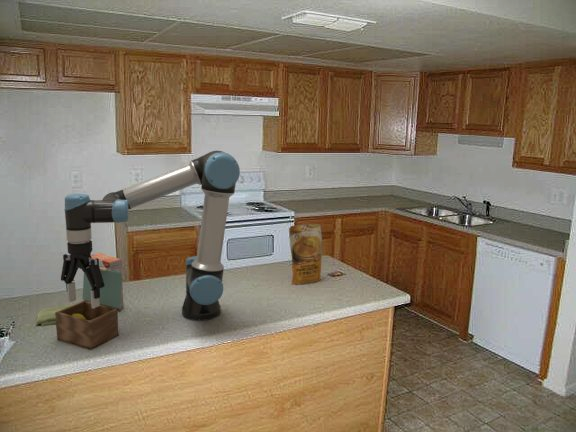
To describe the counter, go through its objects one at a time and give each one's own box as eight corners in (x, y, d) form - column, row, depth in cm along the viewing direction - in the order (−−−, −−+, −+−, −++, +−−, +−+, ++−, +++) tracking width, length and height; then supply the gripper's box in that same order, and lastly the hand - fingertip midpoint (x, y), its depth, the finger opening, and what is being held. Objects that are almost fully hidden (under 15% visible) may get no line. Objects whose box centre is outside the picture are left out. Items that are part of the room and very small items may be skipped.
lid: (115, 309, 161) (120, 308, 163) (117, 272, 160) (122, 271, 162) (79, 300, 168) (84, 299, 170) (81, 264, 167) (85, 264, 169)
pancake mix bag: (284, 282, 224) (285, 224, 218) (318, 276, 232) (320, 221, 227) (290, 286, 218) (292, 228, 212) (325, 281, 227) (328, 224, 221)
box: (122, 334, 166) (121, 308, 164) (92, 350, 154) (91, 322, 152) (86, 324, 173) (85, 299, 171) (56, 339, 161) (53, 312, 159)
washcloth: (38, 314, 181) (37, 306, 180) (87, 308, 189) (87, 300, 188) (36, 328, 170) (35, 320, 169) (89, 320, 177) (88, 312, 176)
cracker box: (89, 305, 190) (86, 255, 186) (101, 300, 195) (99, 252, 191) (111, 313, 183) (108, 262, 179) (124, 308, 188) (121, 258, 184)
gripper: (114, 242, 153) (117, 306, 158) (64, 234, 163) (68, 294, 167) (96, 248, 147) (100, 314, 151) (45, 238, 156) (50, 301, 160)
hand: (83, 304), depth 159 cm, fingers open, 10 cm apart
